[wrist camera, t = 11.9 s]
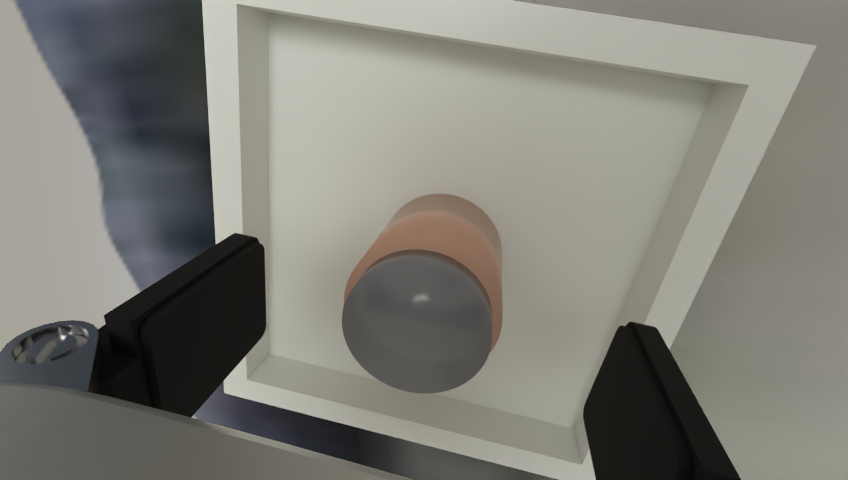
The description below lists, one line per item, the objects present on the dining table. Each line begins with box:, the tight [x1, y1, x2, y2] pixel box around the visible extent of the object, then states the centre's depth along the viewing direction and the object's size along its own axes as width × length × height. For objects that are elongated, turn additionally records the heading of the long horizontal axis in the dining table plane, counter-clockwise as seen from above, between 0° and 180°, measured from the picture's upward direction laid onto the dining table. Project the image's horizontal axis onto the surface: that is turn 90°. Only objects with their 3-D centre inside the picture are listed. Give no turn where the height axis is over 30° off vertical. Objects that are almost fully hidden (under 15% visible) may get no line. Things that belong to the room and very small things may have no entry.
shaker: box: [342, 194, 503, 394], centre depth 15 cm, size 5×5×6 cm
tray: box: [202, 0, 817, 480], centre depth 17 cm, size 18×18×3 cm
